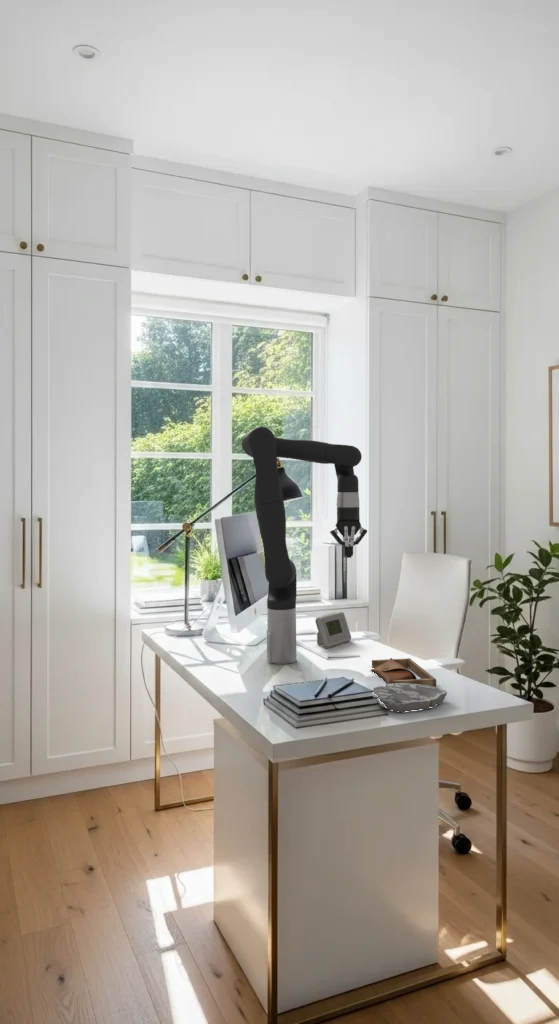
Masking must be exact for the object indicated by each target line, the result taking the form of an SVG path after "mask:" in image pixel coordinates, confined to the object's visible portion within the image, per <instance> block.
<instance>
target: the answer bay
mask: <svg viewBox="0 0 559 1024" xmlns="http://www.w3.org/2000/svg"><path fill="white" fill-rule="evenodd" d="M389 659H390V658H388V659H387V658H386V659H385V658H384V659H372V660H371V669H372V668H376V667H377V666H379V665H381V664H383V663H385V662H387V661H389ZM392 659H393V660H394V661H395V662H397V663H399V664H400V665H402V666H403V667H405V668H407V669H408V670H409V671H411V672H412V673H413V674H414V675H415V676H416V677H419V678H416V679H411V680H393V684H394V683H410V684H422V685H430V686H434V687H437V678H435V677H434V676H433V675H431V674H430V673H429V672H428V671H426V670H425V669H424V668H423V667H421V666H420V665H418V663H416V662H415V661H414V660H412V659H411V658H407V657H406V658H392Z"/></svg>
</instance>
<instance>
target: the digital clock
mask: <svg viewBox="0 0 559 1024" xmlns="http://www.w3.org/2000/svg"><path fill="white" fill-rule="evenodd" d="M314 620H315V626H316V628H317V631H318V632H317V633H316V642H317V643H316V645H317V644H319V645H318V646H320V645H323V646H322V647H323V648H325V649H329V648H335V647H338V646H341V645H343V644H346V643H348V642H350V641H351V640H352V635H351V631H350V628H349V625H348V621H347V619H346V615H345V613H344V612H343V611H336V612H332V613H328V614H325V615H322V616H318V617H316V618H315V619H314Z"/></svg>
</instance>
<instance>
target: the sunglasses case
mask: <svg viewBox="0 0 559 1024" xmlns="http://www.w3.org/2000/svg"><path fill="white" fill-rule="evenodd" d="M388 659H389V661H387V662H385V663H383V664H381V665H379V666H377V667H376V668H374V669H372V668H371V669H370V670H371V671H372V672H371V671H370V672H371V673H373V672H374V673H373V674H375V673H376V674H377V675H378V676H377V675H376V674H375V675H376V676H377V677H379V678H380V679H381V678H382V679H383V680H382V679H381V680H382V681H383V682H384V683H386V684H393V680H411V679H417V675H416V674H415V673H414V672H413V671H411V670H410V669H408V668H407V667H403V666H402V665H400V664H399V663H397V662H395V661H394V660H393V659H394V658H392V657H390V658H388Z"/></svg>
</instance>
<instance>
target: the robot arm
mask: <svg viewBox="0 0 559 1024" xmlns="http://www.w3.org/2000/svg"><path fill="white" fill-rule="evenodd" d="M241 440H242V441H241V447H242V450H243V451H244V453H245V454H246V455H247V456H249V457H251V458H252V459H253V464H254V469H255V484H254V494H253V495H254V496H253V497H254V499H253V500H254V505H255V507H254V508H255V514H256V520H257V524H258V530H259V533H260V538H261V541H262V547H263V557H264V575H265V579H266V581H267V582H268V583H267V584H268V585H267V586H268V588H267V589H268V591H267V599H266V606H267V608H266V613H267V617H266V619H267V629H266V659H267V661H268V663H269V664H278V665H285V664H291V663H295V662H297V613H296V612H297V609H296V608H297V604H296V603H297V602H296V601H297V584H298V583H297V580H298V579H297V568H296V565H295V562H293V560H291V559H290V556H289V553H288V552H289V551H288V549H287V548H288V547H287V541H286V539H287V538H286V535H287V519H286V518H287V517H286V516H287V515H286V508H285V503H284V497H283V492H282V491H283V490H282V485H281V480H280V475H279V468H278V458H284V459H292V460H299V461H302V462H303V461H304V462H309V463H316V464H323V465H324V464H325V465H327V464H328V465H329V464H332V465H334V471H335V475H336V479H337V487H336V488H337V489H336V490H337V495H336V496H337V497H336V523H335V527H334V528H333V529H330V530H329V533H330V535H332V537H333V538H334V539H335V540H336V542H337V543H338V544H339V545H340V546H343V555H344V556H345V558H346V559H347V558H348V559H350V558H352V557H353V556H354V546H357V545H359V544H360V542H361V541H362V540H363V538H364V537H365V535H366V534H367V533H368V530H367V529H366V528H364V527H362V524H361V522H360V521H361V520H360V495H359V478H358V475H355V469H354V468H355V467H356V466H358V465H360V463H361V462H362V461H361V460H362V457H363V456H362V452H361V450H360V449H359V448H357V447H356V446H353V445H349V444H339V443H338V444H336V443H335V444H334V443H328V442H324V441H319V440H318V441H317V440H311V439H290V438H289V439H287V438H280V437H276V436H275V434H274V433H273V432H272V430H271V429H269V428H267V427H265V426H258V427H255V428H253V429H251V430H250V431H248V432H246V434H245V435H243V437H242V439H241ZM357 533H359V534H358V535H357ZM338 534H340V535H341V536H342V539H341V537H340V536H339V535H338ZM356 535H357V536H356ZM355 536H356V538H355Z"/></svg>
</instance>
